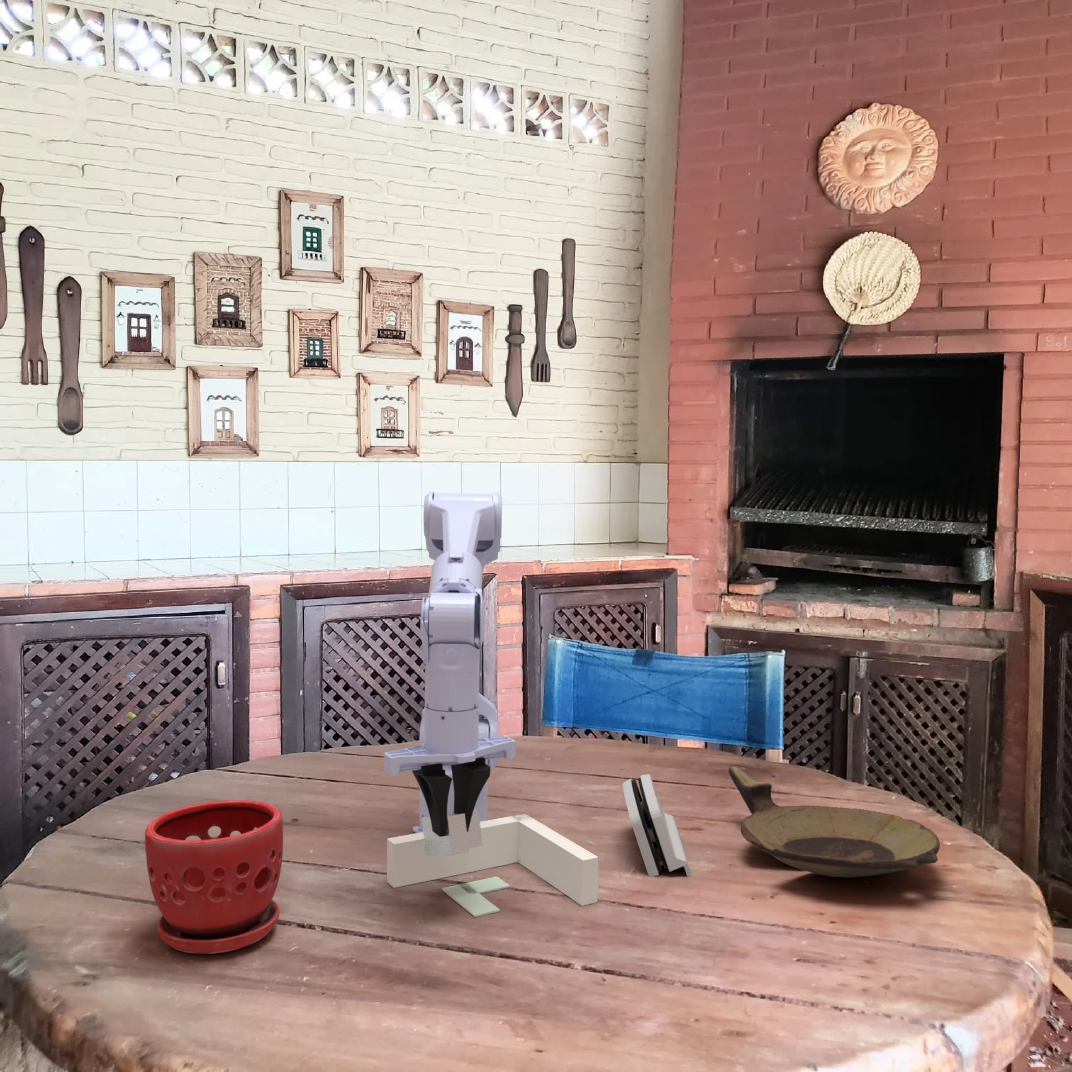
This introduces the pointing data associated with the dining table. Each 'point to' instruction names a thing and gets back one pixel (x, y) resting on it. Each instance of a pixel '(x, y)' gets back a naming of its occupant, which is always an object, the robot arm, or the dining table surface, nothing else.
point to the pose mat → (476, 895)
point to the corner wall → (501, 857)
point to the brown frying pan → (832, 835)
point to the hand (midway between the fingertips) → (450, 831)
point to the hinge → (653, 828)
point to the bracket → (453, 835)
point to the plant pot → (215, 874)
